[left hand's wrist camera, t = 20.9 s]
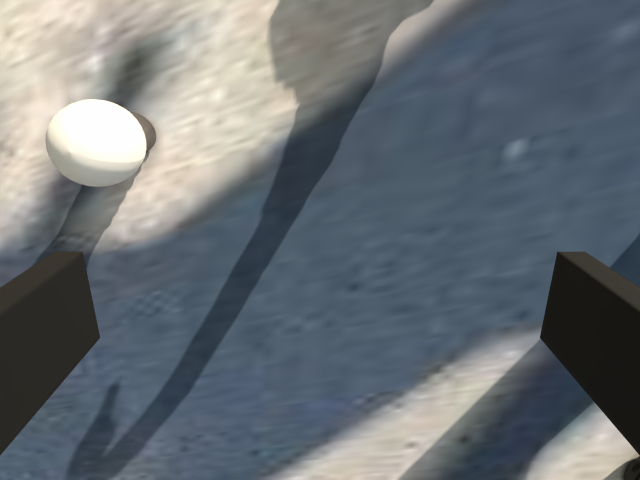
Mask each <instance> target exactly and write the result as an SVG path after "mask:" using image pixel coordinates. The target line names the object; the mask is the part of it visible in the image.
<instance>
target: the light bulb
mask: <svg viewBox="0 0 640 480" xmlns="http://www.w3.org/2000/svg"><path fill="white" fill-rule="evenodd" d="M155 141H156V133H155V130H154V128H153V126H152V124H151V123H150V122H149V121H148V120H147V119H146V118H145V117H143V116H141V115H139V114H137V113H133V112H129V111H127V110H126V109H125V108H123V107H121V106H119V105H117V104H114V103H112V102H108V101H104V100H93V99H90V100H82V101H78V102H75V103H72V104H70V105H68V106H67V107H65V108H63V109H62V110H61V111H59V112H58V113H57V114H56V115H55V116H54V118H53V119H52V121H51V123H50V125H49V126H48V129H47V133H46V148H47V152H48V155H49V157H50V159H51V161H52V163H53V164H54V165H55V167H56V168H57V169H58V170H59V171H60V172H61V173H62V174H63V175H64V176H66V177H67V178H69V179H70V180H72V181H75V182H77V183H80V184H83V185H86V186H93V187H105V186H111V185H114V184H117V183H121V182H123V181H124V180H126V179H128V178H129V177H131V176H132V175H133V174H134V173H135V172H136V171H137V170H138V169H139V167H140V166H141V164H142V162H143V160H144V157H145V154H146V151H148V150H150V149H151V148H152V147H153V146H154V144H155Z"/></svg>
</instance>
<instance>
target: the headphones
mask: <svg viewBox="0 0 640 480" xmlns="http://www.w3.org/2000/svg"><path fill="white" fill-rule="evenodd" d="M624 480H640V456H639V457H638V458H636V459H635V460H634V461H633V462H632V463H631V464H630V465H629V466H628V468H627V469H626V471H625V474H624Z"/></svg>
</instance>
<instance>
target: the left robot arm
mask: <svg viewBox="0 0 640 480" xmlns="http://www.w3.org/2000/svg"><path fill="white" fill-rule="evenodd" d="M99 338H100V335H99V330H98V325H97V320H96V315H95V310H94V306H93V301H92V296H91V291H90V286H89V281H88V276H87V271H86V266H85V261H84V256H83V252H54V253H52V254H51V255H49V256H48V257H46V258H45V259H43V260H42V261H40V262H39V263H37V264H36V265H34V266H32V267H31V268H29V269H28V270H26V271H25V272H23V273H22V274H20V275H19V276H17V277H16V278H14V279H13V280H11V281H10V282H8V283H6V284H5V285H3V286H2V287H0V455H1V454H2V453H3V451H4V450H5V449H6V448H7V447H8V445H9V444H10V443H11V442H12V441H13V440H14V438H15V437H16V436H17V435H18V434H19V433H20V431H21V430H22V429H23V428H24V427H25V425H26V424H27V423H28V422H29V421H30V420H31V418H32V417H33V416H34V415H35V414H36V412H37V411H38V410H39V409H40V408H41V407H42V405H43V404H44V403H45V402H46V401H47V400H48V398H49V397H50V396H51V395H52V394H53V392H54V391H55V390H56V389H57V388H58V387H59V385H60V384H61V383H62V382H63V381H64V380H65V378H66V377H67V376H68V375H69V374H70V372H71V371H72V370H73V369H74V368H75V367H76V365H77V364H78V363H79V362H80V361H81V359H82V358H83V357H84V356H85V355H86V354H87V352H88V351H89V350H90V349H91V348H92V347H93V345H94V344H95V343H96V342H97V341H98V339H99ZM540 338H541V339H542V341H543V342H544V343H545V344H546V345H547V347H548V348H549V349H550V350H551V351H552V352H553V354H554V355H555V356H556V357H557V358H558V359H559V361H560V362H561V363H562V364H563V365H564V367H565V368H566V369H567V370H568V371H569V372H570V374H571V375H572V376H573V377H574V378H575V380H576V381H577V382H578V383H579V384H580V385H581V387H582V388H583V389H584V390H585V391H586V392H587V394H588V395H589V396H590V397H591V398H592V400H593V401H594V402H595V403H596V404H597V405H598V407H599V408H600V409H601V410H602V411H603V413H604V414H605V415H606V416H607V417H608V418H609V420H610V421H611V422H612V423H613V424H614V425H615V427H616V428H617V429H618V430H619V431H620V433H621V434H622V435H623V436H624V437H625V438H626V440H627V441H628V442H629V443H630V444H631V445H632V447H633V448H634V449H635V450H636V451H637V453H638V454H639V455H640V287H638V286H637V285H635V284H634V283H632V282H630V281H629V280H627V279H626V278H624V277H623V276H621V275H620V274H618V273H617V272H615V271H614V270H612V269H611V268H609V267H608V266H606V265H604V264H603V263H601V262H600V261H598V260H597V259H595V258H594V257H592V256H591V255H589V254H588V253H586V252H557V256H556V261H555V266H554V271H553V276H552V281H551V286H550V291H549V296H548V301H547V306H546V310H545V315H544V320H543V325H542V330H541V335H540Z"/></svg>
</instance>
